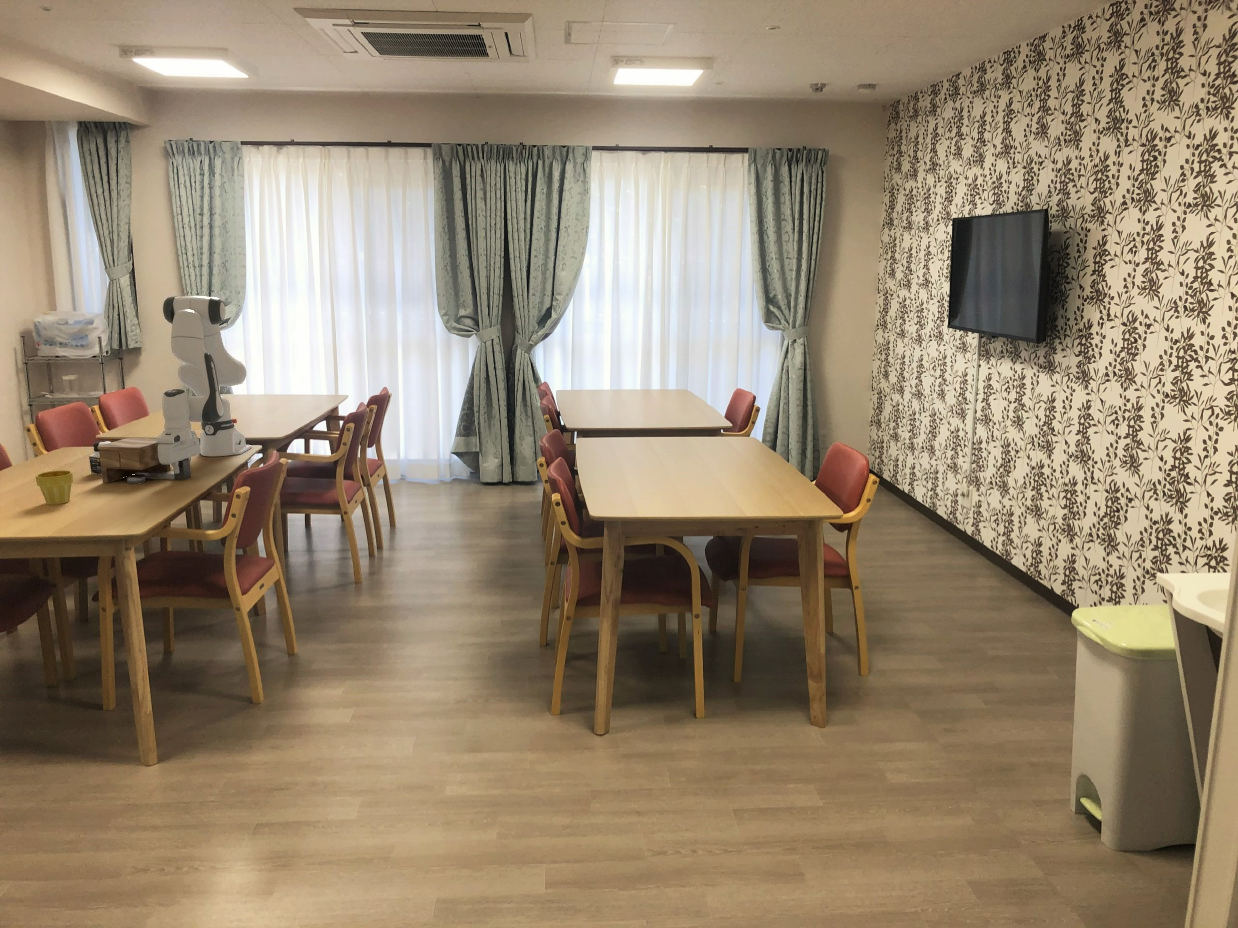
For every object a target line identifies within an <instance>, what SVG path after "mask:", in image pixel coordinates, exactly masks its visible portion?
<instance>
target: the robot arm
mask: <svg viewBox="0 0 1238 928" xmlns="http://www.w3.org/2000/svg"><path fill="white" fill-rule="evenodd" d="M226 311H227V310H226V306H225V304H224V301H223V300H222V299H221V298H219V297H215V296H205V295H204V296H203V295H191V296H190V295H187V296H186V295H185V296H184V295H183V296H177V295H176V296H175V295H174V296H169V297H167V298H165V300H164V301H163V304H162V314H163V316H164V319H165V320H166V321H167V322H168V323H169V324H171V333H170V334H171V335H170V347H171V352H172V354H173V356H174V357H175V359H177V360H179V361H180V362H182V363H180V365H179V367H178V370H177V376H178V377H177V378H178V379H179V381H180V383H181V384H182V385H183V386H185V387H187V388H188V389H189V390H190V391H192V392H193V394H194V395H188V394H187V392H186V391H185V390H184V389H182V388H181V389H180V388H177V389H176V388H174V389H169V390H166V391H165V392H164V393H163V394H162V405H161V406H162V407H161V408H162V416H163V419H164V425H163V427H164V428H163V429H164V430H163V431H162V432H161V433H160V434H159V435H158V436H157V437H156V438H155V439H156V441H157V443H160V444H159V445H158V457H159V462H160V463H161V464H166V465H169V464H170V466H171V467H172V469H173V472H174V473H176V474H178V473H181V468H179V466H178V464H179V462H178V461H181V460H184V459H189V460H190V463H191V462H192V457H195V456H198V455H201V456H205V457H223V456H224V457H226V456H233V455H242V454H244V453H245V452H246V451H248V450H250V449H252V448H253V446H252V445H250V444H247V443H246V438H245V437H246V436H245V435H244V434H243V433H242V432H241V431H239V429H237V428H236V427H235V424H237V423H238V419H237V418H232V412H231V403H230V400H228V398H227V397H225V396H224V395H221V392H220V387H234V386H238V385H242V384H243V383H244V381H245V380H246V378H247V369H246V367H245V364H243V363H242V362H241V361H240V360H238V359H237V358H235V357H233V356H232V355H231V354H230V353H229V351H228V350H227V349H226V348H225V345H224V343H223V338H222V334H221V328H220V324H222V323H223V321H224V320H225V317H226V314H227V312H226ZM191 423H201V424H200V426H201V430H202V431H201V433H200V435H199V437H198V436H197V433H196V431H194V430H192V424H191ZM199 438H200V439H199Z"/></svg>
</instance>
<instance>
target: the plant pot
mask: <svg viewBox="0 0 1238 928" xmlns="http://www.w3.org/2000/svg"><path fill="white" fill-rule="evenodd" d="M35 480H36V481H35V482H36V486H37V487H39V489H40V491H41V494H42V496H43V498H44V501H45V503H46V505H53V506H55V505H63V504H66V503H68V502H70V501H71V492H72V490H71V489H72V483H73V482H74V474H73V472H72V471H71V470H67V469H65V470H64V469H63V470H50V471H44V472H41V473H38V474H36V475H35Z"/></svg>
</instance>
